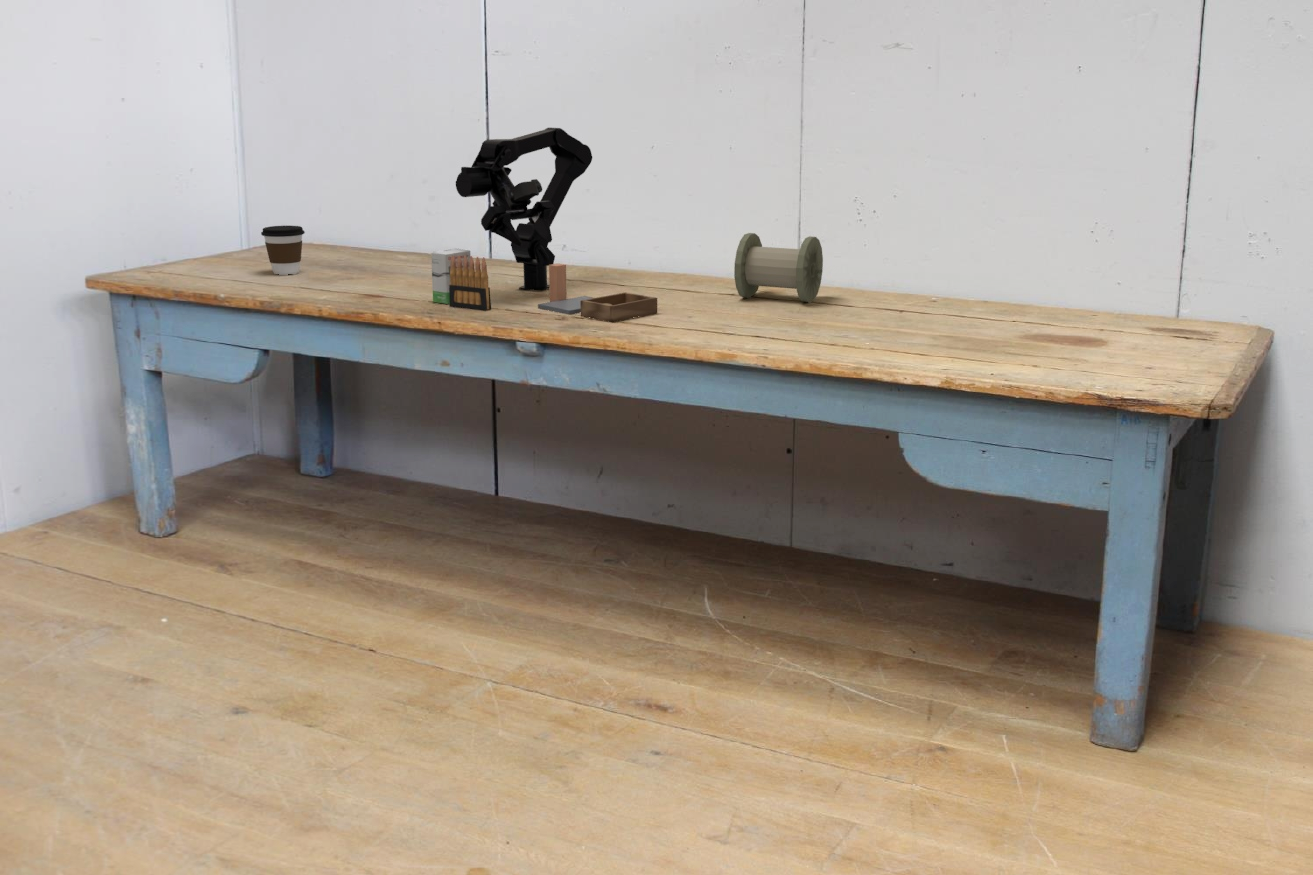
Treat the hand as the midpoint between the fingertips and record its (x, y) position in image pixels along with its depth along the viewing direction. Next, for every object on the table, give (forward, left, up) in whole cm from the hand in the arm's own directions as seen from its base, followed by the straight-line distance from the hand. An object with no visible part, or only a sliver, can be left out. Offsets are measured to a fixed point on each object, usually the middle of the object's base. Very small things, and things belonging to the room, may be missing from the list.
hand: (535, 243), depth 299 cm
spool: (-21, +53, -14) cm, 58 cm away
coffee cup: (-17, -79, -14) cm, 82 cm away
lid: (+3, +10, -14) cm, 17 cm away
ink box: (+5, -19, -14) cm, 24 cm away
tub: (+9, +24, -14) cm, 29 cm away
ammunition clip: (+12, -11, -14) cm, 22 cm away
